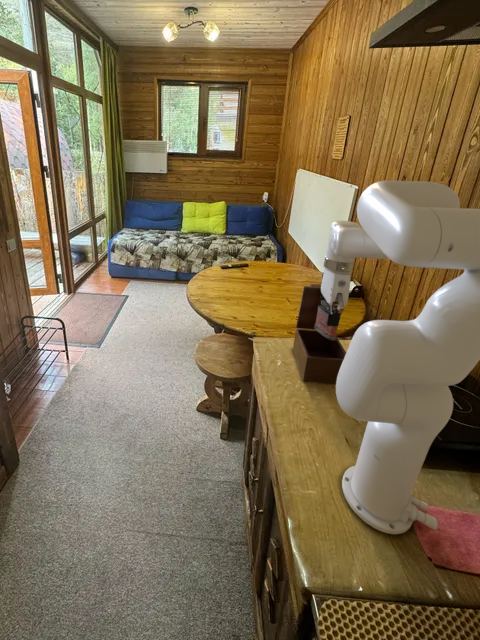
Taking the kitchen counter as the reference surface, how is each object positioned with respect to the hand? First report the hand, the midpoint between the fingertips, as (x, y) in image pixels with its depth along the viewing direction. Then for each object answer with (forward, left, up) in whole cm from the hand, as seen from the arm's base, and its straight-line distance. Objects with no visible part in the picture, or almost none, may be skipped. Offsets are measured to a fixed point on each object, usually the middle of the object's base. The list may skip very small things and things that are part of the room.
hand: (327, 317), depth 94 cm
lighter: (0, 0, -6) cm, 6 cm away
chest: (0, -1, -19) cm, 19 cm away
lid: (+3, -7, -2) cm, 8 cm away
